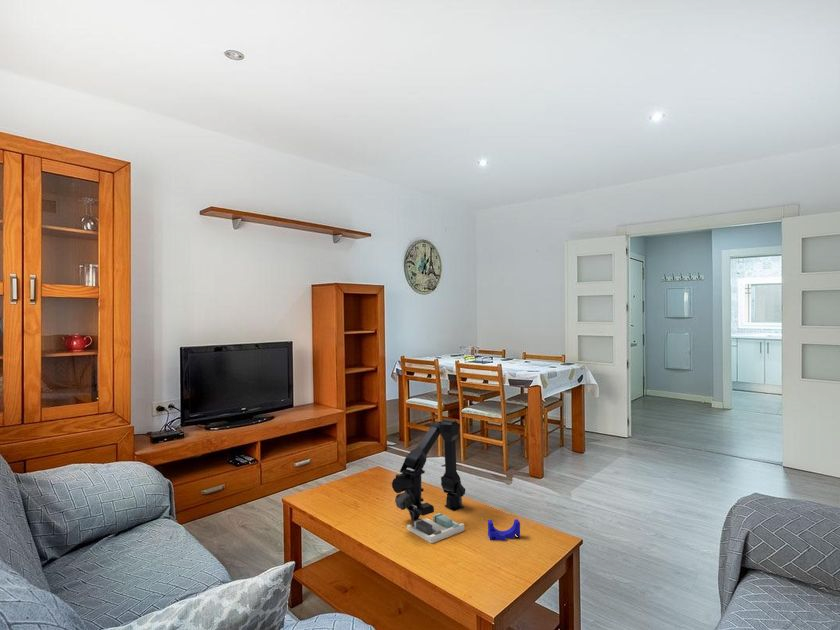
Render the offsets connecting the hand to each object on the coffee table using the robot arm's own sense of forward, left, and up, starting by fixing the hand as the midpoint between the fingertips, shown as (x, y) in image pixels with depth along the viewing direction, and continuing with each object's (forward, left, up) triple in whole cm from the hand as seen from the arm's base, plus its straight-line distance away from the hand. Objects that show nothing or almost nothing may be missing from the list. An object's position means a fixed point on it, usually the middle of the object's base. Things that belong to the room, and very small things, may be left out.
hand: (414, 524), depth 193 cm
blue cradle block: (-22, +29, -2) cm, 36 cm away
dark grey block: (0, +6, -1) cm, 6 cm away
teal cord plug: (-10, +7, -1) cm, 12 cm away
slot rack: (-5, +7, -1) cm, 8 cm away
